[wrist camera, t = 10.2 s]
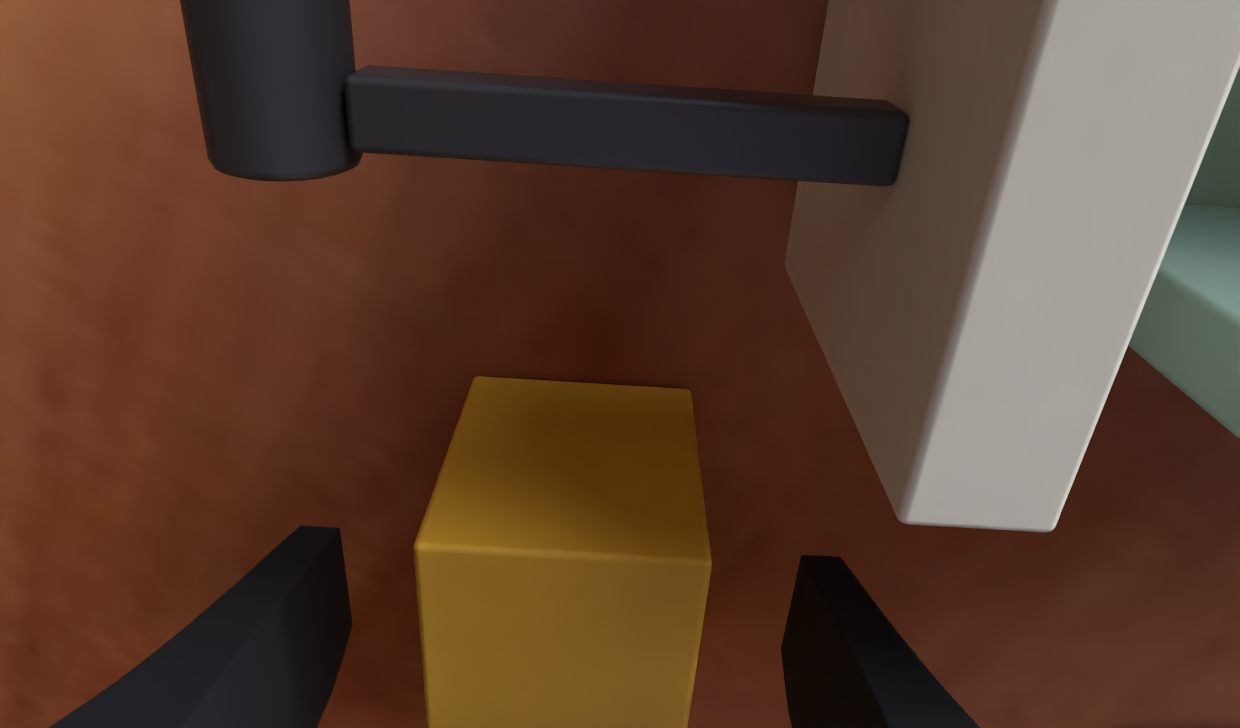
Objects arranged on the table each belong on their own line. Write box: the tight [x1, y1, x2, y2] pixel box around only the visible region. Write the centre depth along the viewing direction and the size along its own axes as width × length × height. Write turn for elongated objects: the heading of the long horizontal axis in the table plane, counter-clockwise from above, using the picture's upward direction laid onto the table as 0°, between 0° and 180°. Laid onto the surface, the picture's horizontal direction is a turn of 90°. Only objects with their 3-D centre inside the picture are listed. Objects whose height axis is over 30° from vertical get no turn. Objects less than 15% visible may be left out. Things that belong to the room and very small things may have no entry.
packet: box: [413, 376, 712, 728], centre depth 12 cm, size 6×3×4 cm, turn 176°
